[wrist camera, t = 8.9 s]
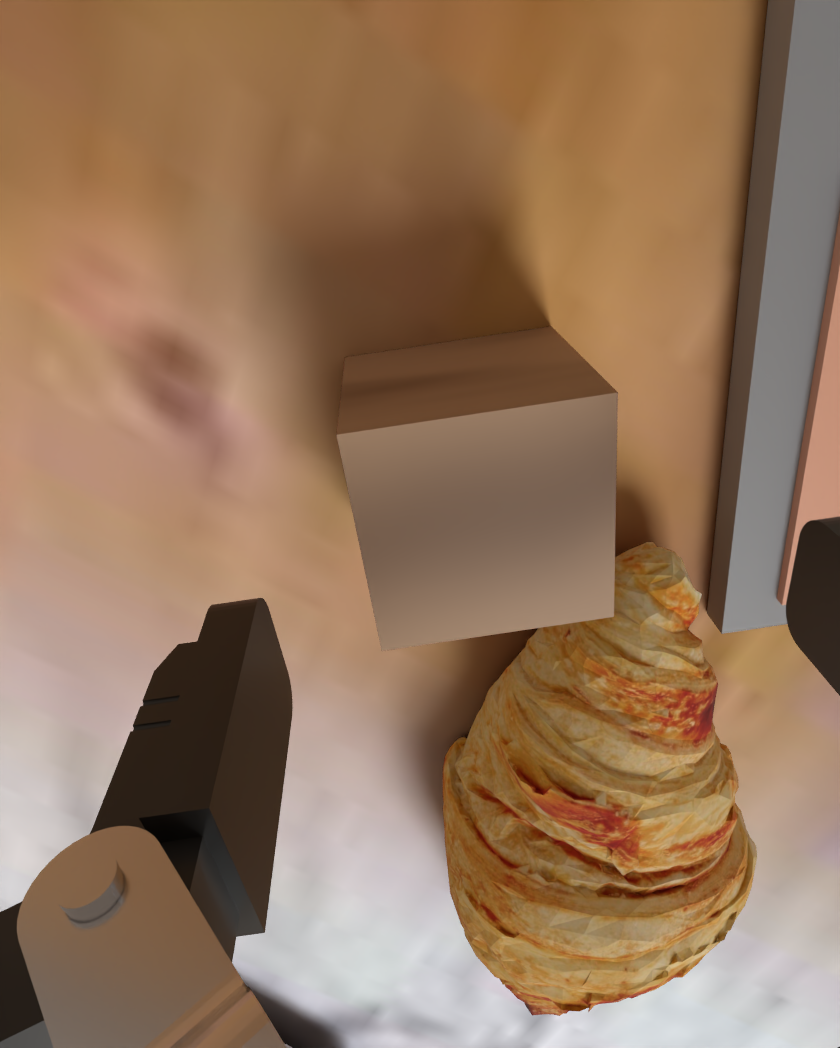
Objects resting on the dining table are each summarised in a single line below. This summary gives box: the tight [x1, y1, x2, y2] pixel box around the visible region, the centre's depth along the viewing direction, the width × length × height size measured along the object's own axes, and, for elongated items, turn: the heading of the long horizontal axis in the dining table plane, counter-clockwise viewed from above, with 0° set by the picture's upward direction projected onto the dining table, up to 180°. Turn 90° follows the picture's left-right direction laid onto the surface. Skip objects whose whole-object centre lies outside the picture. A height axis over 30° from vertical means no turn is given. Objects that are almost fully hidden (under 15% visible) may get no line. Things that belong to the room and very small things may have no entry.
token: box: [336, 326, 618, 651], centre depth 15 cm, size 5×5×5 cm
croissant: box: [443, 542, 757, 1016], centre depth 22 cm, size 21×10×8 cm, turn 178°
